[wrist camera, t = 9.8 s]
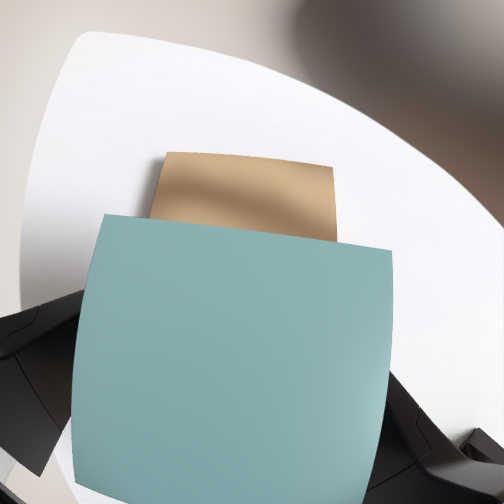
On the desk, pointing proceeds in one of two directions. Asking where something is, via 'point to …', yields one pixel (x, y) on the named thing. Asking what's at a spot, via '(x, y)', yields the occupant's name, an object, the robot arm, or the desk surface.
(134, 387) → the block
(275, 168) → the oak board
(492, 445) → the phone stand
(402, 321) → the desk surface
